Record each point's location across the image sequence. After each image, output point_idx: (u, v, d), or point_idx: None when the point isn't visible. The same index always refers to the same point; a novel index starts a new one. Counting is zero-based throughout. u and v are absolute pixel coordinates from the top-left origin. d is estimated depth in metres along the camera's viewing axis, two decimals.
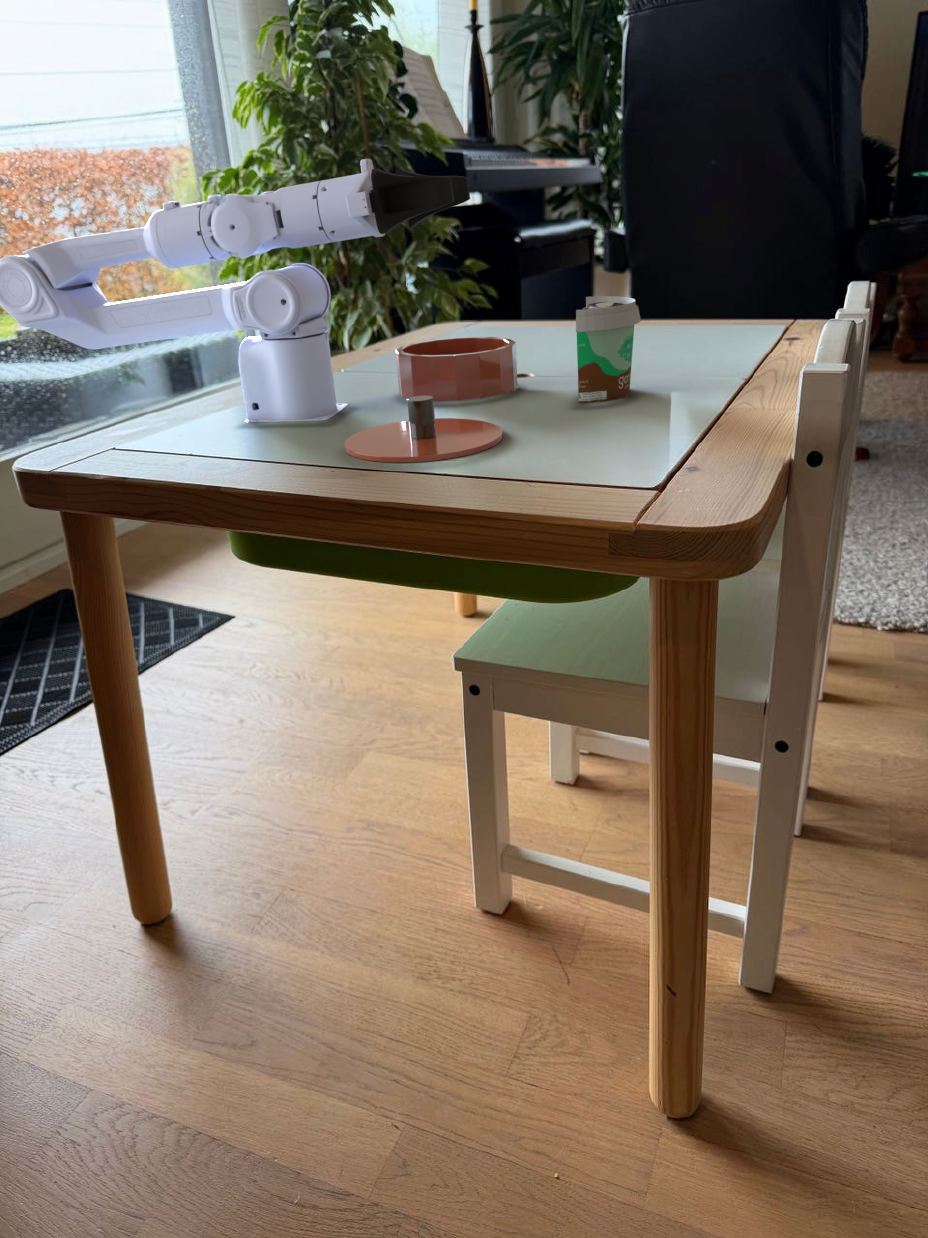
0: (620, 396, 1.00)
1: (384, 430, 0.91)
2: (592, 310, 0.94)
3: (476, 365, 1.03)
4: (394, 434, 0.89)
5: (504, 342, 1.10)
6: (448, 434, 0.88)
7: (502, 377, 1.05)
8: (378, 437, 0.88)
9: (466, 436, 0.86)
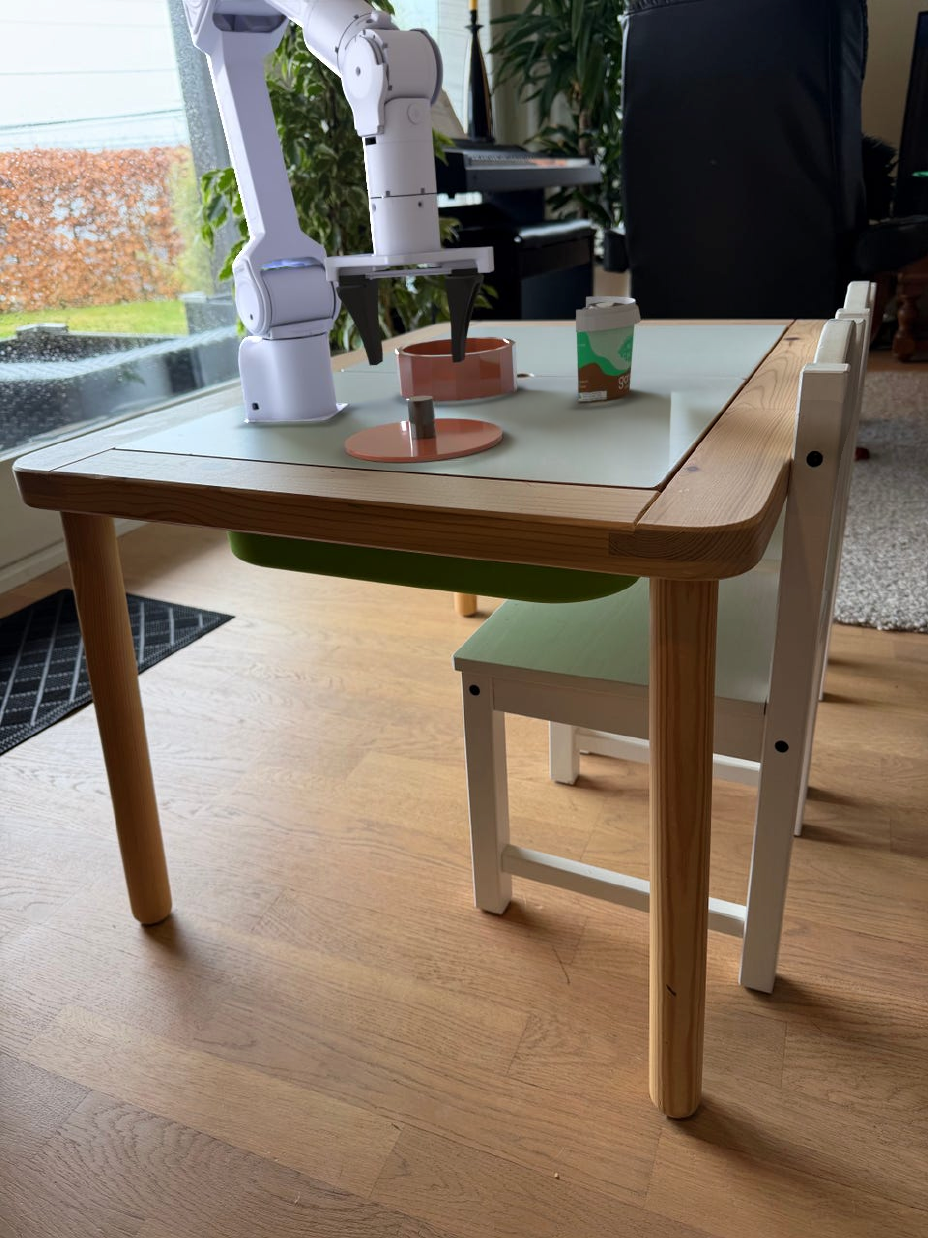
0: (620, 396, 1.00)
1: (384, 430, 0.91)
2: (592, 310, 0.94)
3: (476, 365, 1.03)
4: (394, 434, 0.89)
5: (504, 342, 1.10)
6: (448, 434, 0.88)
7: (502, 377, 1.05)
8: (378, 437, 0.88)
9: (466, 436, 0.86)
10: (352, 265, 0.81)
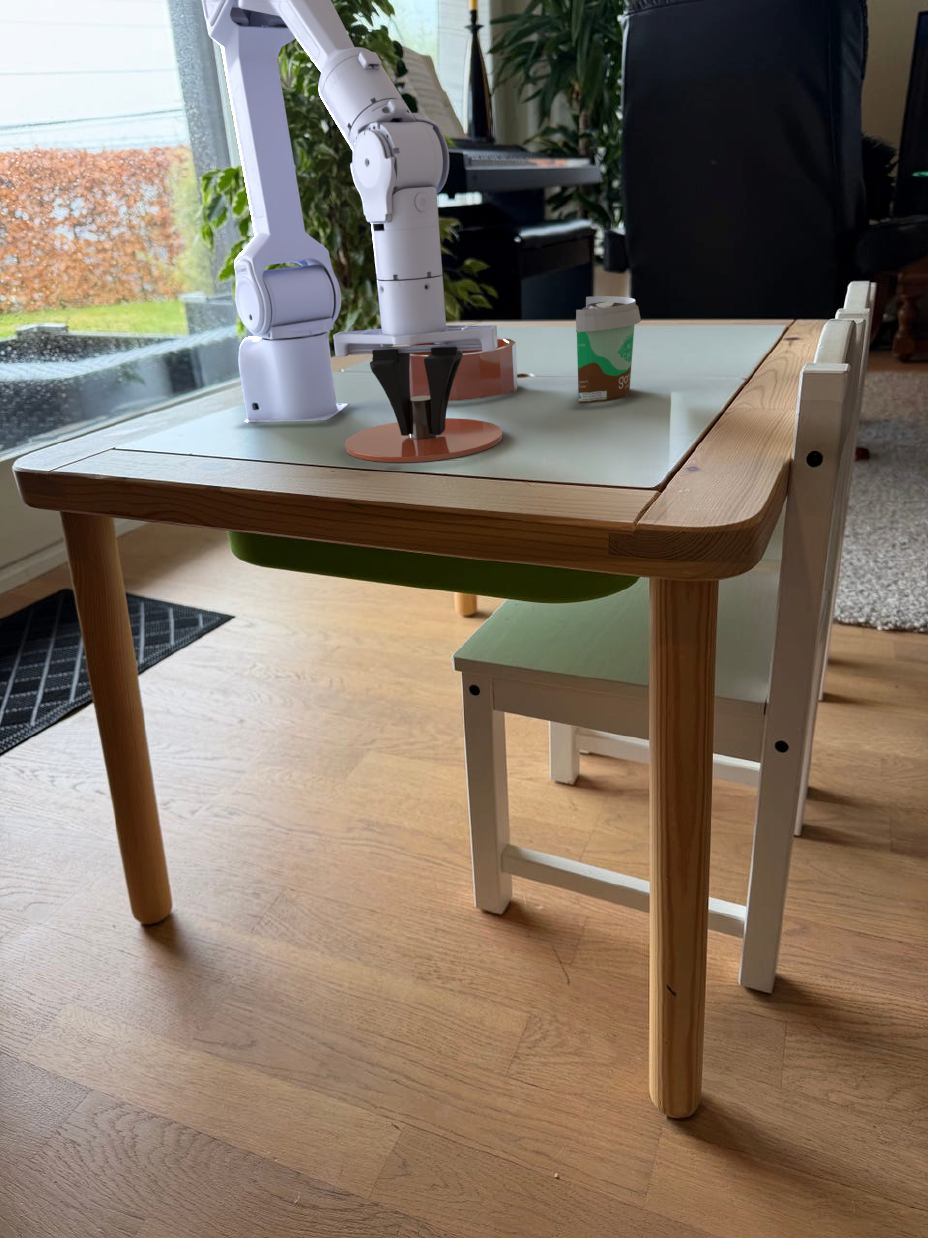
0: (620, 396, 1.00)
1: (384, 430, 0.91)
2: (592, 310, 0.94)
3: (476, 365, 1.03)
4: (394, 434, 0.89)
5: (504, 342, 1.10)
6: (448, 434, 0.88)
7: (502, 377, 1.05)
8: (378, 437, 0.88)
9: (466, 436, 0.86)
10: (360, 342, 0.84)
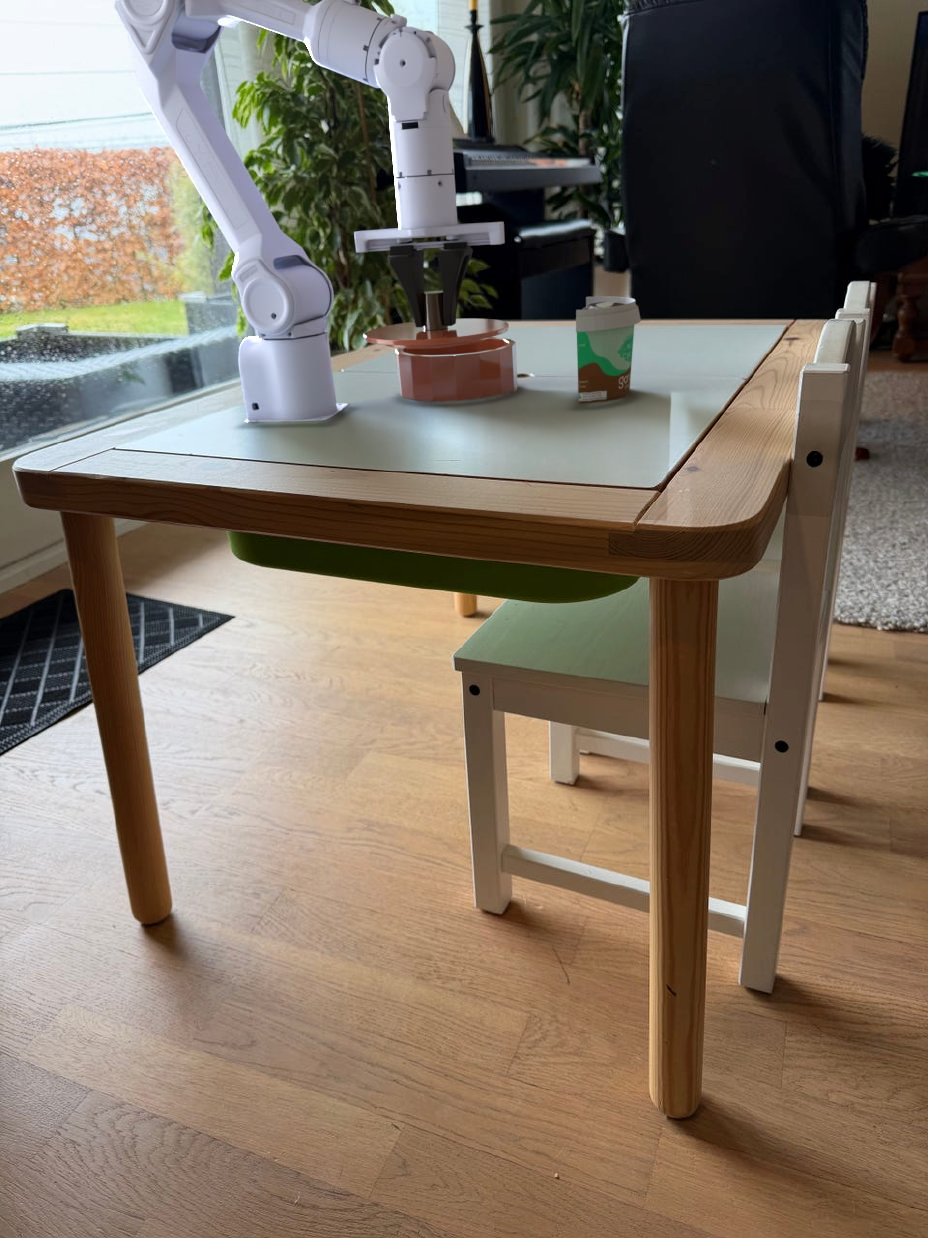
0: (620, 396, 1.00)
1: (400, 326, 0.99)
2: (592, 310, 0.94)
3: (476, 365, 1.03)
4: (409, 328, 0.97)
5: (504, 342, 1.10)
6: (459, 326, 0.95)
7: (502, 377, 1.05)
8: (394, 330, 0.96)
9: (475, 327, 0.94)
10: (379, 238, 0.91)
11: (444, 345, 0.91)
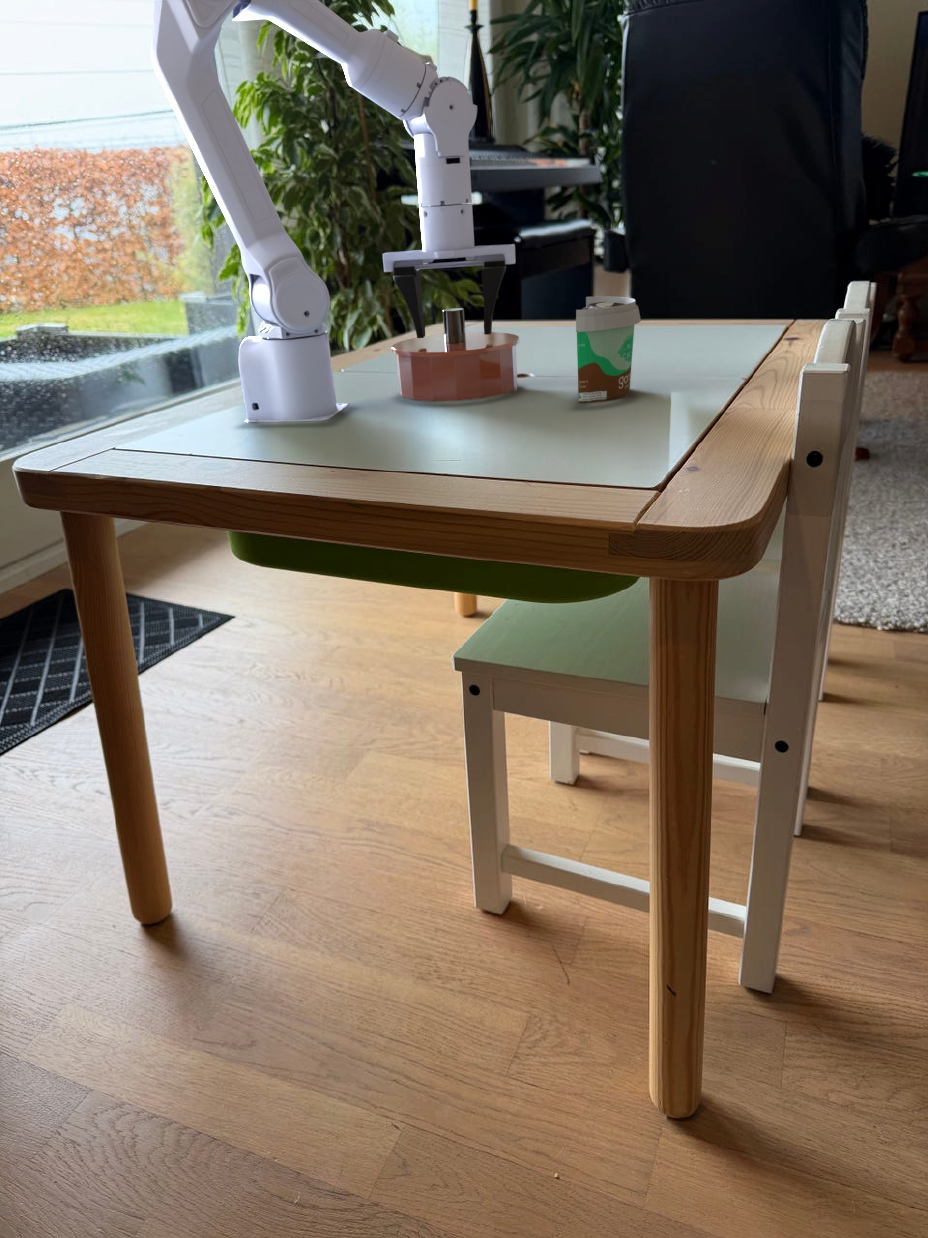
0: (620, 396, 1.00)
1: (419, 340, 1.11)
2: (592, 310, 0.94)
3: (476, 365, 1.03)
4: (430, 341, 1.09)
5: None
6: (475, 339, 1.08)
7: (502, 377, 1.05)
8: (418, 343, 1.09)
9: (491, 339, 1.08)
10: (406, 259, 1.04)
11: None
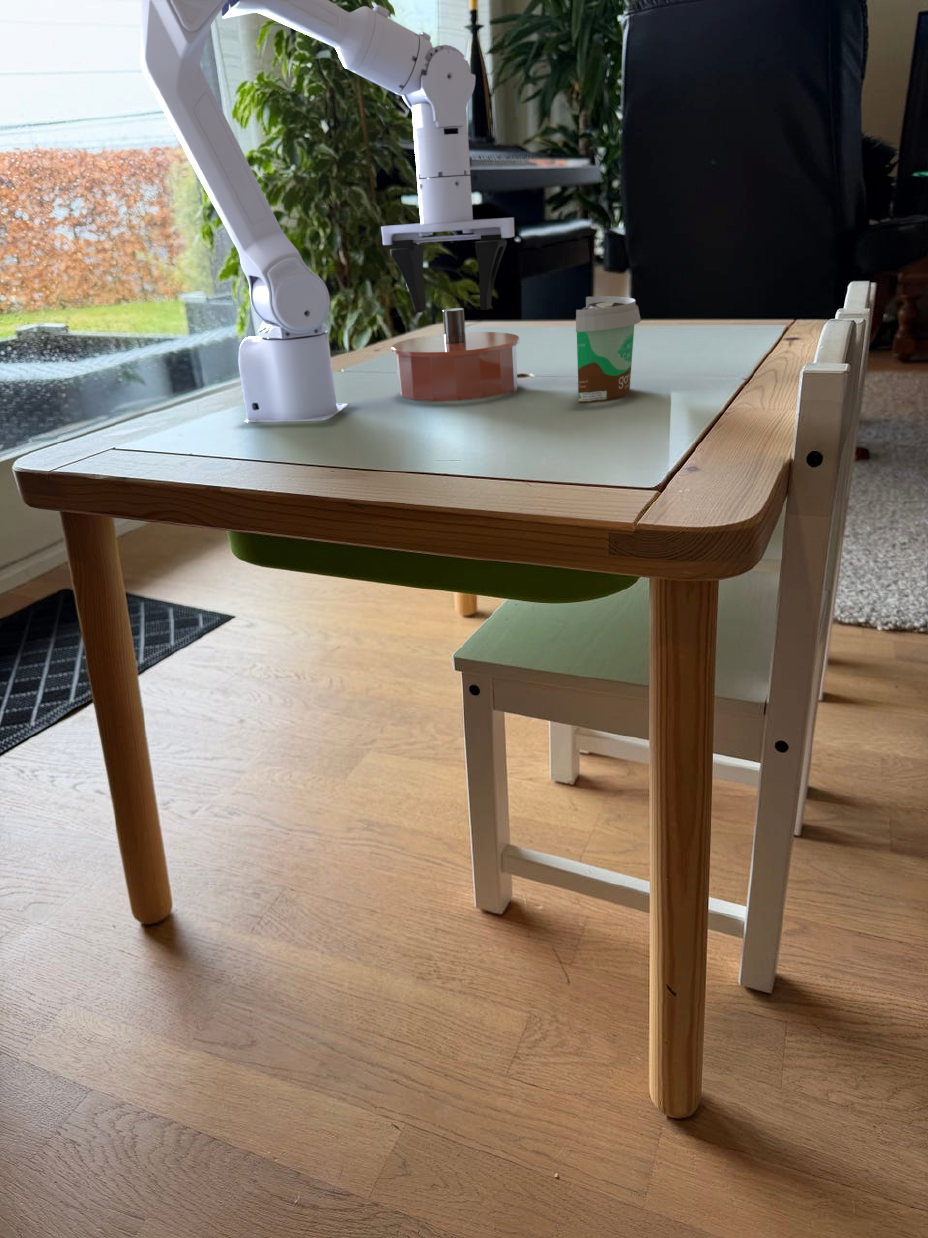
0: (620, 396, 1.00)
1: (419, 340, 1.11)
2: (592, 310, 0.94)
3: (476, 365, 1.03)
4: (430, 341, 1.09)
5: None
6: (475, 339, 1.08)
7: (502, 377, 1.05)
8: (418, 343, 1.09)
9: (491, 339, 1.08)
10: None
11: None
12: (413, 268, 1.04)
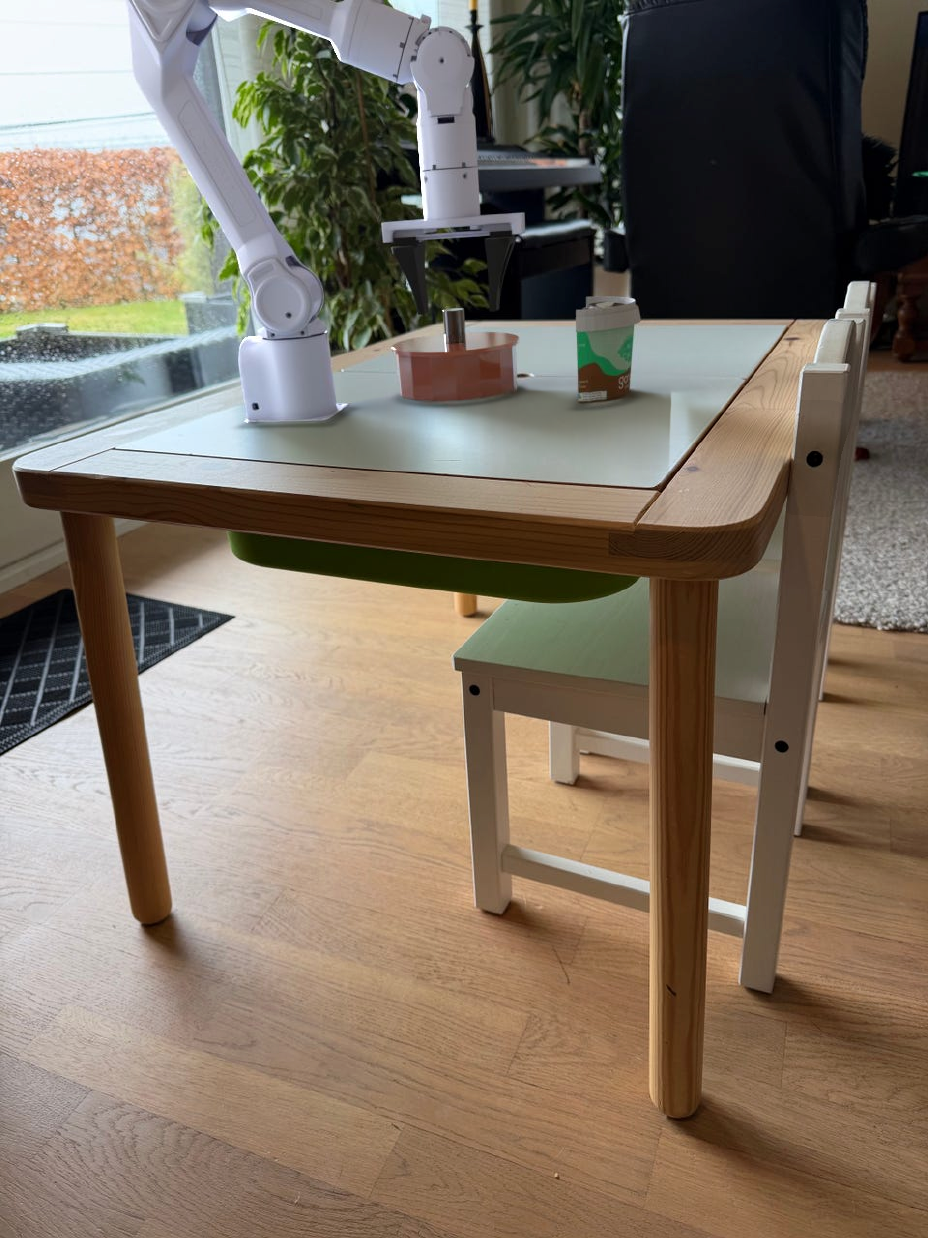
0: (620, 396, 1.00)
1: (419, 340, 1.11)
2: (592, 310, 0.94)
3: (476, 365, 1.03)
4: (430, 341, 1.09)
5: None
6: (475, 339, 1.08)
7: (502, 377, 1.05)
8: (418, 343, 1.09)
9: (491, 339, 1.08)
10: None
11: None
12: (416, 267, 0.97)
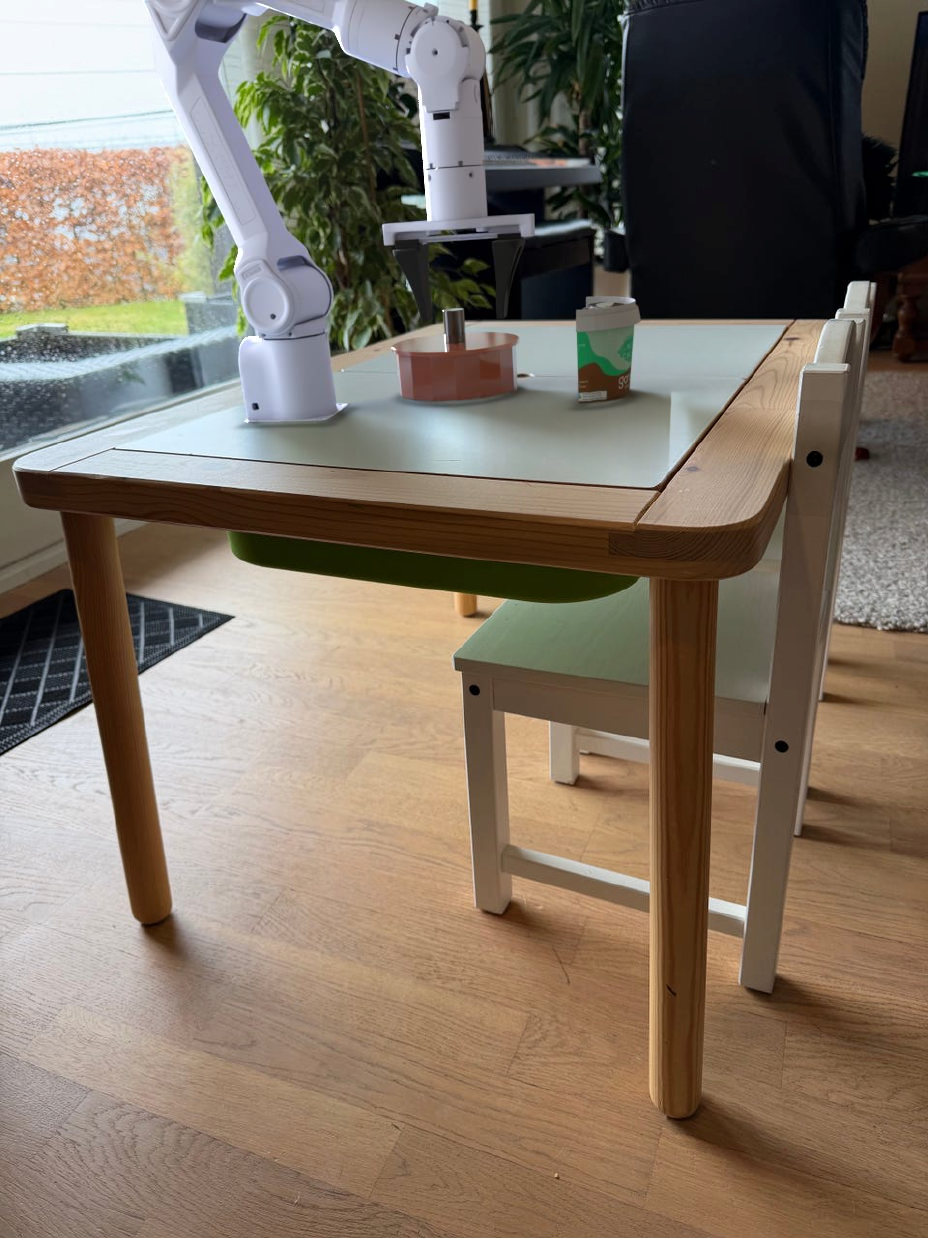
0: (620, 396, 1.00)
1: (419, 340, 1.11)
2: (592, 310, 0.94)
3: (476, 365, 1.03)
4: (430, 341, 1.09)
5: None
6: (475, 339, 1.08)
7: (502, 377, 1.05)
8: (418, 343, 1.09)
9: (491, 339, 1.08)
10: None
11: None
12: (419, 271, 0.92)
